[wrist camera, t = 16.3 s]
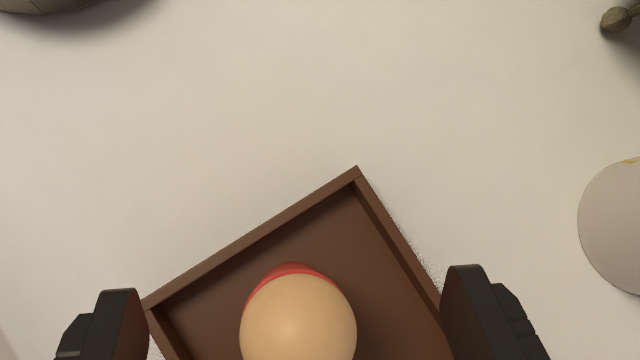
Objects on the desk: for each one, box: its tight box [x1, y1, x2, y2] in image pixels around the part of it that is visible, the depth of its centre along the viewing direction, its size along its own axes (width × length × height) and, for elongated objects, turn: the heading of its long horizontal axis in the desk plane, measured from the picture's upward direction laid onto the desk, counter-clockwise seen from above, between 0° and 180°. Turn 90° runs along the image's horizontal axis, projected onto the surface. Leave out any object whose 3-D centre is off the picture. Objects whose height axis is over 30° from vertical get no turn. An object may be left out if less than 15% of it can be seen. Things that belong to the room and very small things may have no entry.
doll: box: [239, 261, 357, 360], centre depth 20 cm, size 4×4×12 cm
